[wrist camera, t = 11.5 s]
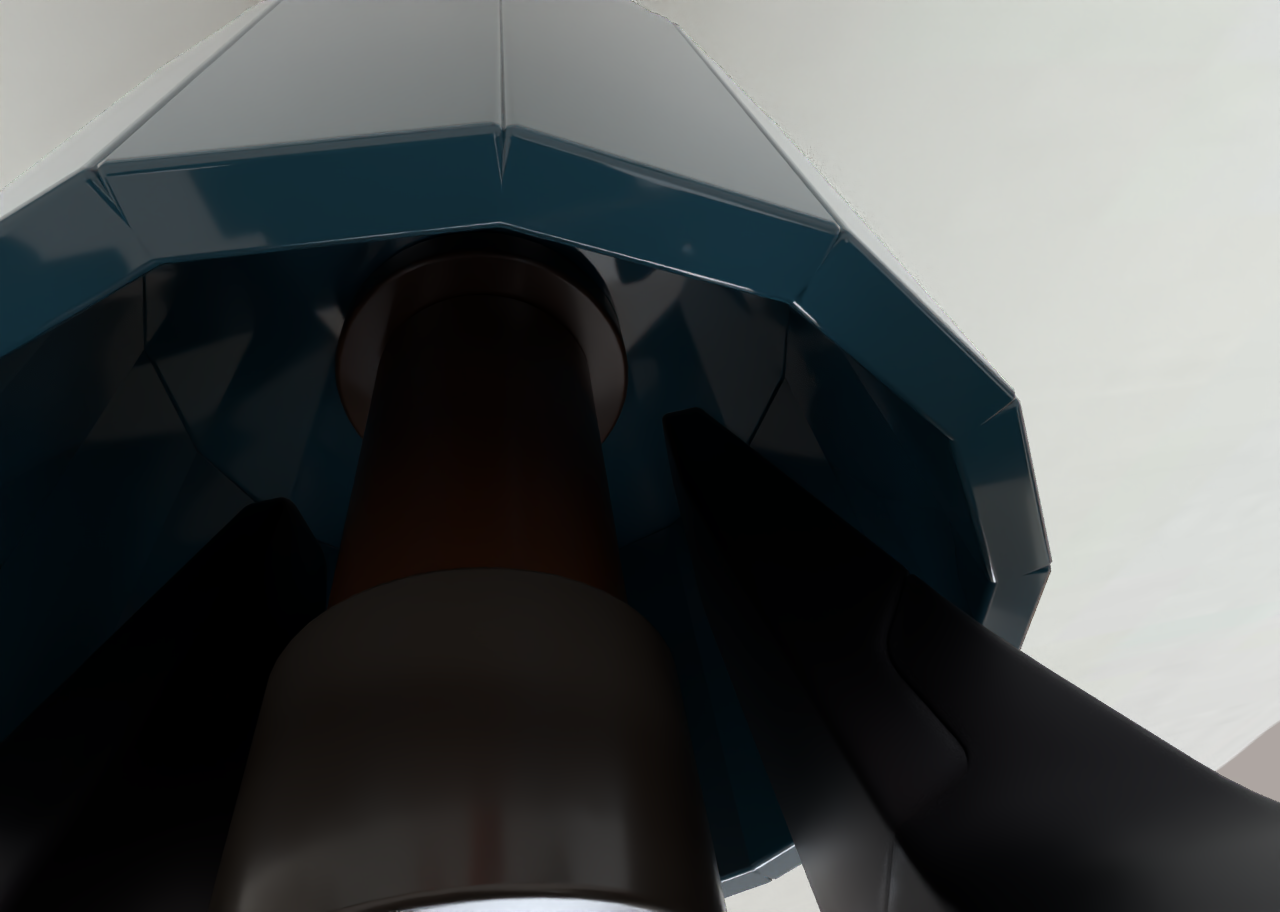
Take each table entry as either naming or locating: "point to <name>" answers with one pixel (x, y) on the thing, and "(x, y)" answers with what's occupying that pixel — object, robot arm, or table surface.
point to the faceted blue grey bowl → (444, 205)
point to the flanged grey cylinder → (475, 628)
